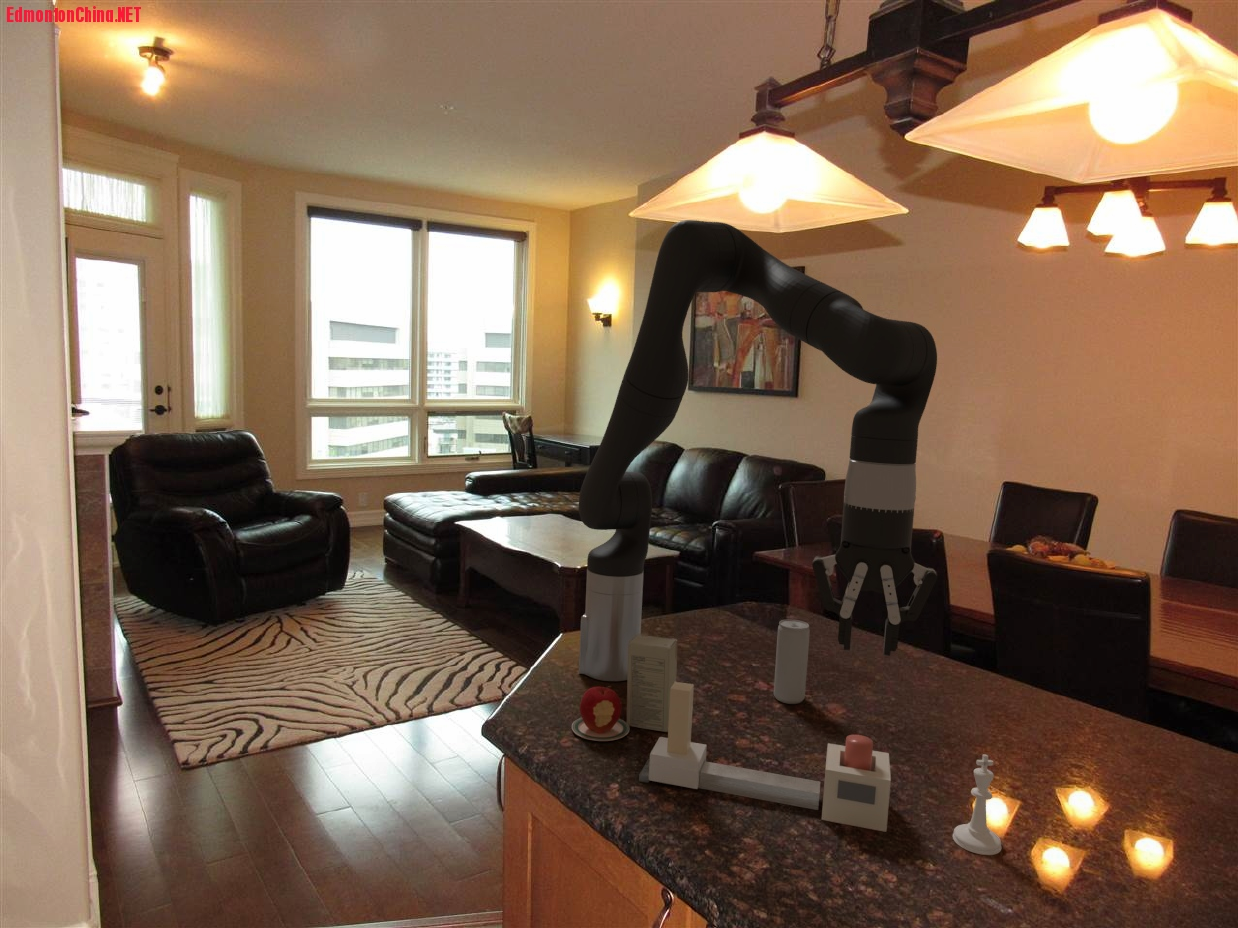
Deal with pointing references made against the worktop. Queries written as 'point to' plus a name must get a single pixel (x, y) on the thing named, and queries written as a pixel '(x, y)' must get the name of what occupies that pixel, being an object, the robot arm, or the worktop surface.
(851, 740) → the button
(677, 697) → the carriage
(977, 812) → the chess piece
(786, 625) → the beverage can
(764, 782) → the rail
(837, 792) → the cream square box
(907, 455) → the robot arm
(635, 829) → the worktop surface
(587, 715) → the apple
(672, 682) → the skincare box
